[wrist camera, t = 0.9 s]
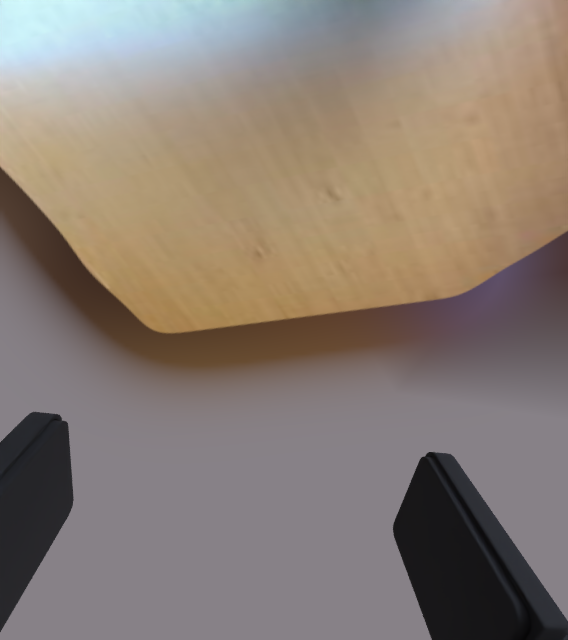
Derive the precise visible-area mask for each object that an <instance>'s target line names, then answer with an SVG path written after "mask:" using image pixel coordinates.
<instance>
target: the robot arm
mask: <svg viewBox="0 0 568 640" xmlns="http://www.w3.org/2000/svg"><path fill="white" fill-rule="evenodd" d="M72 505H73V487H72V473H71V459H70V446H69V431H68V423H67V422H66V421H62V418H61V416H60V415H58V414H49V413H40V412H32V413H30V414H29V415H28V416H26V417H25V419H24V420H23V421H21V422H20V423H19V424H18V425H17V427H15V428H14V429H13V430H12V431H11V432H10V433H9V434H8V435H7V436H6V437H5V438H4V439H3V440H2V441H1V442H0V632H1V630H2V628H3V626H4V625H5V623H6V621H7V620H8V618H9V616H10V614H11V613H12V611H13V610H14V608H15V606H16V604H17V603H18V601H19V599H20V597H21V596H22V594H23V592H24V590H25V589H26V587H27V586H28V584H29V582H30V580H31V579H32V577H33V575H34V574H35V572H36V570H37V568H38V567H39V565H40V563H41V562H42V560H43V558H44V556H45V555H46V553H47V551H48V550H49V548H50V546H51V545H52V543H53V541H54V540H55V538H56V536H57V534H58V533H59V531H60V529H61V527H62V526H63V524H64V522H65V521H66V519H67V517H68V515H69V513H70V511H71V508H72ZM393 532H394V538H395V540H396V543H397V546H398V549H399V551H400V554H401V557H402V560H403V562H404V565H405V568H406V570H407V573H408V576H409V579H410V581H411V584H412V587H413V589H414V592H415V594H416V597H417V600H418V603H419V606H420V608H421V611H422V614H423V617H424V619H425V622H426V625H427V628H428V630H429V633H430V635H431V638H432V640H568V621H567V620H566V618H565V617H564V615H563V614H562V612H561V611H560V609H559V608H558V607H557V605H556V604H555V602H554V601H553V599H552V598H551V596H550V595H549V593H548V592H547V591H546V589H545V588H544V586H543V585H542V583H541V582H540V580H539V579H538V578H537V576H536V575H535V573H534V572H533V570H532V569H531V567H530V566H529V565H528V563H527V562H526V560H525V559H524V557H523V556H522V554H521V553H520V552H519V550H518V549H517V547H516V546H515V544H514V543H513V542H512V540H511V539H510V537H509V536H508V534H507V533H506V531H505V530H504V529H503V527H502V526H501V524H500V523H499V521H498V520H497V518H496V517H495V515H494V514H493V513H492V511H491V510H490V508H489V507H488V505H487V504H486V502H485V501H484V500H483V498H482V497H481V495H480V494H479V492H478V491H477V490H476V488H475V487H474V485H473V484H472V482H471V481H470V479H469V478H468V477H467V475H466V474H465V472H464V471H463V469H462V468H461V466H460V465H459V464H458V462H457V461H456V459H455V458H454V457H453V456H452V455H451V454H446V453H435V452H429V453H427V454H426V456H425V457H422V458H421V459H420V461H419V463H418V466H417V468H416V471H415V473H414V475H413V478H412V480H411V483H410V485H409V488H408V490H407V492H406V495H405V497H404V500H403V502H402V504H401V507H400V509H399V512H398V514H397V517H396V519H395V522H394V525H393Z"/></svg>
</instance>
